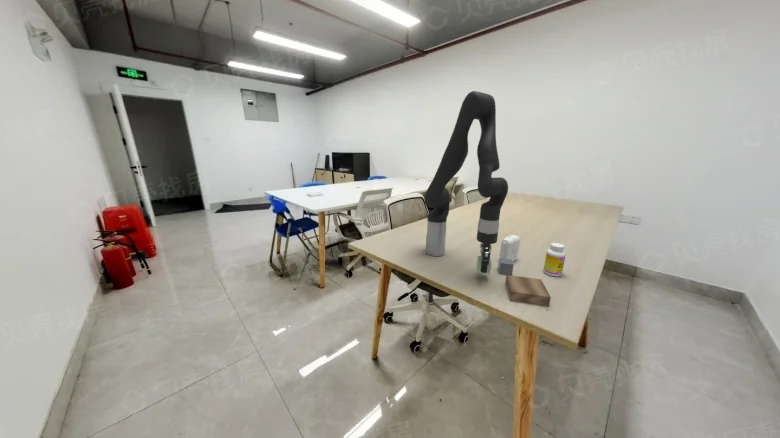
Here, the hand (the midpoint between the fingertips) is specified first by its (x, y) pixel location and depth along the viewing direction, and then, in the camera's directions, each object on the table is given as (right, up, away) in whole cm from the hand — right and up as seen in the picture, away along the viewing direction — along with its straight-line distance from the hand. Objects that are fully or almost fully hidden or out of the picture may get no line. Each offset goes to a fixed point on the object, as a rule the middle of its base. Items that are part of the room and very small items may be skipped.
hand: (483, 268), depth 101 cm
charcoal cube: (+11, -2, +6) cm, 13 cm away
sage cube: (0, -1, 0) cm, 1 cm away
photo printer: (+18, 0, +16) cm, 24 cm away
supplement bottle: (+31, -3, +4) cm, 31 cm away
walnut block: (+11, -7, -10) cm, 17 cm away
